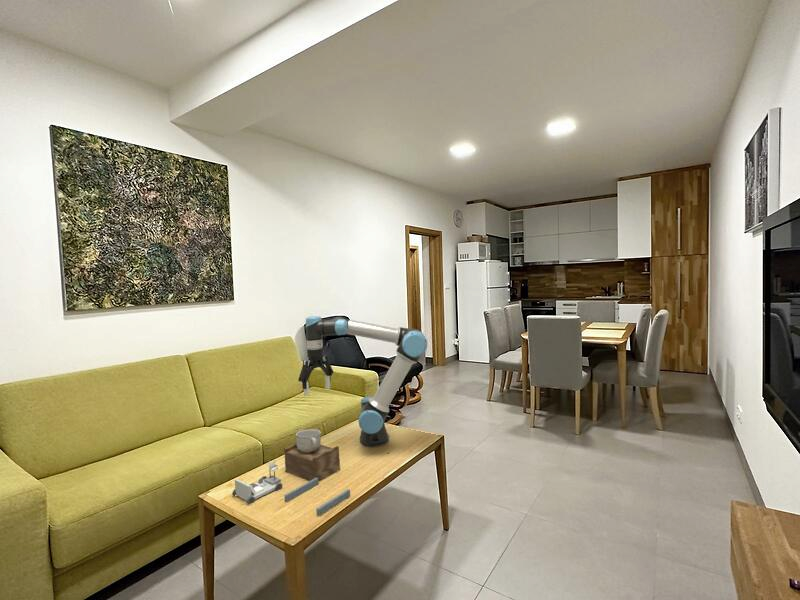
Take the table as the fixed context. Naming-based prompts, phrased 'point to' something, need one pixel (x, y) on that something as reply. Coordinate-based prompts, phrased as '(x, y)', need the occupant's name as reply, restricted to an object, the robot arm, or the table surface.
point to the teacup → (308, 440)
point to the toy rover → (257, 486)
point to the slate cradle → (325, 506)
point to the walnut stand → (312, 462)
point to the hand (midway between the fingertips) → (317, 392)
